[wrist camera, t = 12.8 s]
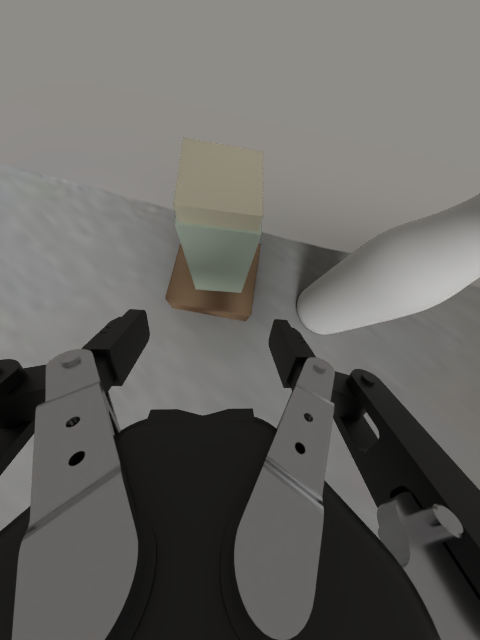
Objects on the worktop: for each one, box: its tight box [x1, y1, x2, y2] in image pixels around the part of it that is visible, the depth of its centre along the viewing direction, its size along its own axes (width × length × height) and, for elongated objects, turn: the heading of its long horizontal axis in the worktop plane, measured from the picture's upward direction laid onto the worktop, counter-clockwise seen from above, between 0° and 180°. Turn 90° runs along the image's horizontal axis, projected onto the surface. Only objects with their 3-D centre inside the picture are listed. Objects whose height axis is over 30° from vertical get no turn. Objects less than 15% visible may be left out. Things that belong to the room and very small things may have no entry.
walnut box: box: [165, 244, 261, 321], centre depth 23 cm, size 10×10×4 cm
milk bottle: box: [297, 194, 480, 335], centre depth 16 cm, size 8×8×20 cm
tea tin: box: [173, 138, 263, 293], centre depth 16 cm, size 5×5×11 cm
